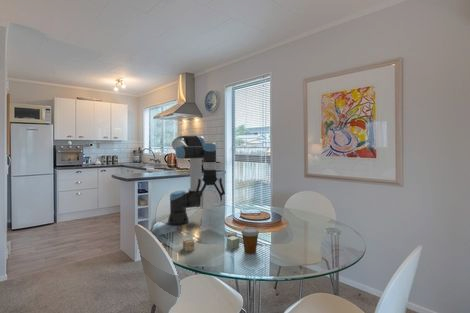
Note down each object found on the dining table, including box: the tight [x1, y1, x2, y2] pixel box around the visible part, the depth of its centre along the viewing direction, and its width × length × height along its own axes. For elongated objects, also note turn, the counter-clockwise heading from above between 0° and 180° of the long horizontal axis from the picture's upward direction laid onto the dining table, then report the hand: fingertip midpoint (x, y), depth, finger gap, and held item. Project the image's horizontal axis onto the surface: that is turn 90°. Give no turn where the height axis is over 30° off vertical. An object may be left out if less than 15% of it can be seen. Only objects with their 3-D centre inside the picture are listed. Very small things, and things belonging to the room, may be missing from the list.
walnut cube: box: [227, 231, 238, 238], centre depth 161 cm, size 5×5×5 cm
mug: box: [201, 188, 222, 210], centre depth 159 cm, size 9×12×11 cm
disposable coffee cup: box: [241, 226, 260, 255], centre depth 147 cm, size 10×10×12 cm
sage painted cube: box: [226, 236, 240, 250], centre depth 154 cm, size 5×5×5 cm
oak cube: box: [182, 237, 195, 252], centre depth 151 cm, size 5×5×5 cm
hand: (210, 206), depth 159 cm, fingers closed on mug, 10 cm apart
